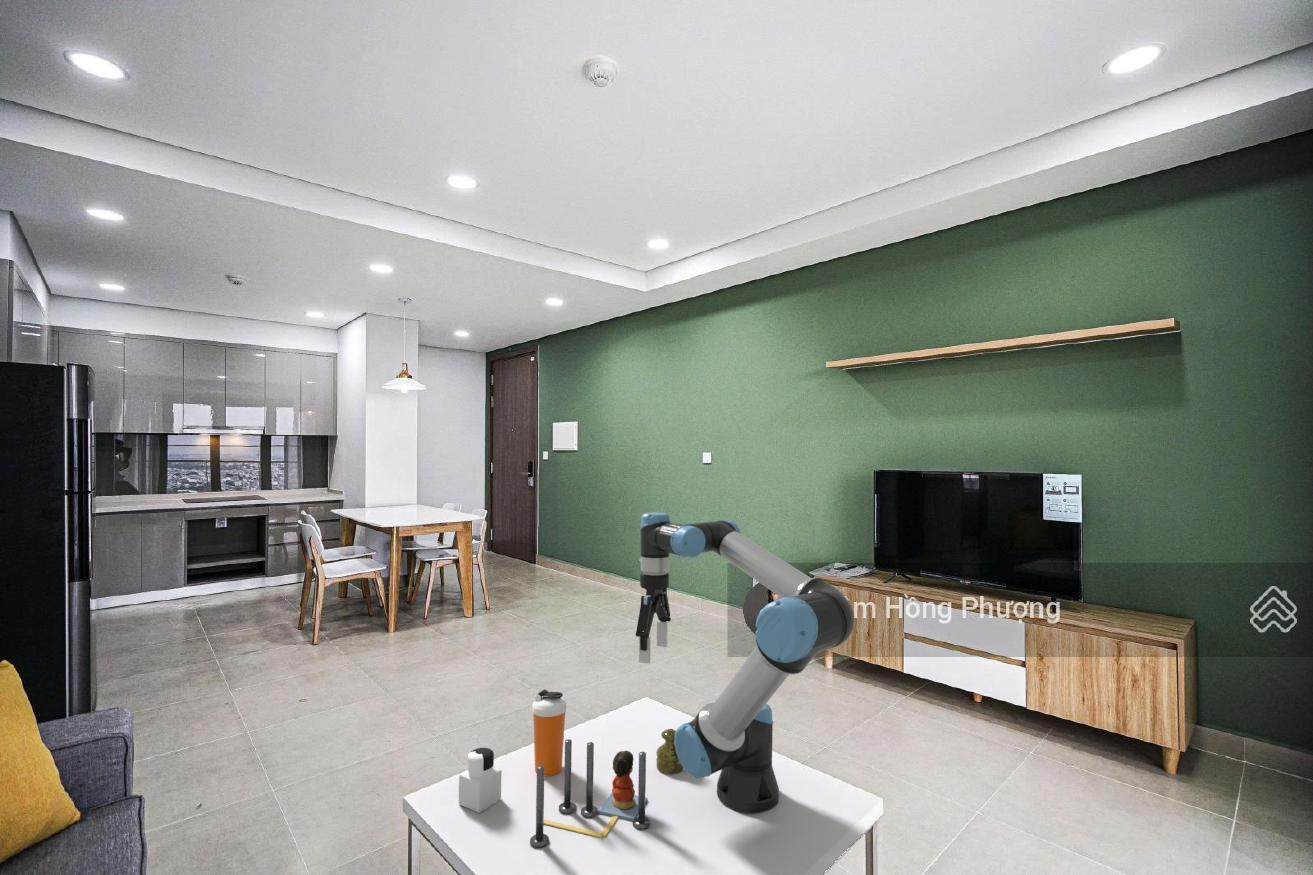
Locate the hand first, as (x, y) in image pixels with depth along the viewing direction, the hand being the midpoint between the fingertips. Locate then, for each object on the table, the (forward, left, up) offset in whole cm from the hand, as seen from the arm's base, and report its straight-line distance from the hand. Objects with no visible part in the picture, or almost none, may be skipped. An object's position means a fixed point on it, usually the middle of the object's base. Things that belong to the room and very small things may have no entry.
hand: (653, 654), depth 161 cm
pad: (+2, +15, -32) cm, 35 cm away
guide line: (+9, +24, -32) cm, 41 cm away
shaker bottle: (+27, +6, -32) cm, 42 cm away
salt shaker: (-3, -6, -32) cm, 33 cm away
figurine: (+2, +15, -31) cm, 35 cm away
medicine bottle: (+35, +25, -32) cm, 54 cm away
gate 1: (+14, +27, -32) cm, 44 cm away
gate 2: (+2, +20, -32) cm, 38 cm away
